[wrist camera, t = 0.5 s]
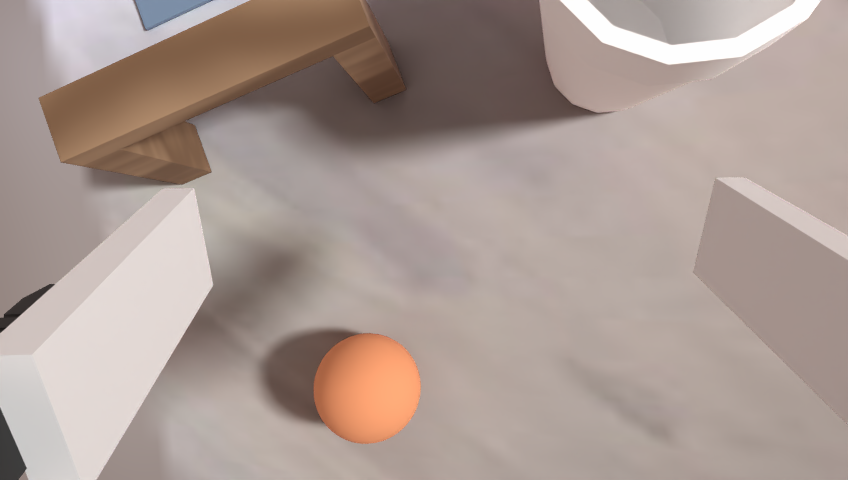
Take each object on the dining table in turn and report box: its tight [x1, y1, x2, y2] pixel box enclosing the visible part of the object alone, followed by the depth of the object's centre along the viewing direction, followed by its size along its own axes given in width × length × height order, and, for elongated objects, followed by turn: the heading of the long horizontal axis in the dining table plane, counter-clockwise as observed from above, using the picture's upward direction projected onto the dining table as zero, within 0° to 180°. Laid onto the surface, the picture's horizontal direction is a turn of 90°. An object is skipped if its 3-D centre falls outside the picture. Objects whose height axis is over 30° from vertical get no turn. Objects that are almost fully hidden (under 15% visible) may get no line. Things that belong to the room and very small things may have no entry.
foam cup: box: [539, 0, 821, 113], centre depth 23 cm, size 10×9×13 cm
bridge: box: [39, 0, 406, 184], centre depth 27 cm, size 3×14×9 cm, turn 111°
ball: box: [314, 333, 421, 444], centre depth 28 cm, size 6×6×6 cm
